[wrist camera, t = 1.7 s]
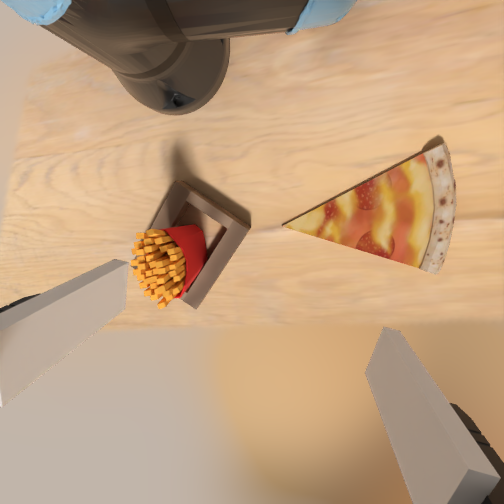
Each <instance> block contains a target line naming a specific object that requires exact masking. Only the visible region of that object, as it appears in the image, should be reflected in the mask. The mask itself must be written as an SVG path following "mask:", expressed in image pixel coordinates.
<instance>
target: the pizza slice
mask: <svg viewBox="0 0 504 504" xmlns="http://www.w3.org/2000/svg"><path fill="white" fill-rule="evenodd" d="M455 210H456V185H455V179H454V175H453V170H452V164H451V159H450V153H449V151H448V149H447V147H446V145H445V143H441V144H439V145H437V146H435V147H433V148H431V149H429V150H427V151H425V152H423V153H421V154H420V155H418V156H416V157H414V158H412V159H410V160H408V161H406V162H404V163H402V164H400V165H398V166H396V167H395V168H393V169H391V170H389V171H387V172H385V173H383V174H381V175H379V176H377V177H375V178H373V179H371V180H370V181H368V182H366V183H364V184H362V185H360V186H358V187H356V188H354V189H352V190H350V191H348V192H346V193H344V194H343V195H341V196H339V197H337V198H335V199H333V200H331V201H329V202H327V203H325V204H323V205H321V206H319V207H318V208H316V209H314V210H312V211H310V212H308V213H306V214H304V215H302V216H300V217H298V218H296V219H294V220H293V221H291V222H289V223H287V224H285V225H283V227H286V228H289V229H292V230H296V231H299V232H302V233H306V234H309V235H312V236H315V237H319V238H322V239H325V240H328V241H332V242H335V243H338V244H342V245H345V246H348V247H351V248H355V249H358V250H361V251H364V252H368V253H371V254H374V255H378V256H381V257H384V258H387V259H391V260H394V261H397V262H400V263H404V264H407V265H410V266H414V267H417V268H419V269H421V270H424V271H426V272H429V273H432V274H438V273H439V271H440V270H441V267H442V265H443V262H444V260H445V257H446V254H447V251H448V247H449V244H450V239H451V235H452V230H453V224H454V217H455Z"/></svg>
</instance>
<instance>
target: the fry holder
mask: <svg viewBox="0 0 504 504" xmlns="http://www.w3.org/2000/svg"><path fill="white" fill-rule="evenodd" d="M189 204H192V205H193V206H195V207H196V208H198V209H199V210H201V211H202V212H204V213H205V214H207V215H208V216H210V217H211V218H212V219H214V220H215V221H217V222H218V223H220V224H221V225H223V226H224V227H226V228H227V231H226V233H225V234H224V236H223V237H222V239H221V241H220V242H219V244H218V245H217V247H216V248H215V250H214V252H213V253H212V255H211V256H210V258H209V260H208V261H207V263H206V264H205V266H204V267H203V269H202V271H201V272H200V274H199V275H198V277H197V279H196V280H195V282H194V283H193V285H192V286H191V285H190V286H189V287H188V289H187V290H186V291H185V293H184V294H183V295H182V297H181V298H180V299H181V300H183V301H184V302H186V303H187V304H189V305H190V306H192V307H193V308H195V309H197V308H198V306H199V305H200V304H201V302H202V301H203V299H204V298H205V296H206V295H207V293H208V292H209V290H210V289H211V287H212V286H213V284H214V283H215V281H216V280H217V278H218V277H219V275H220V274H221V272H222V271H223V269H224V268H225V266H226V265H227V263H228V261H229V260H230V258H231V257H232V255H233V254H234V252H235V251H236V249H237V248H238V246H239V245H240V243H241V242H242V240H243V239H244V237H245V236H246V234H247V233H248V231H249V230H250V228H251V227H250V226H249V225H247V224H246V223H244V222H243V221H241V220H240V219H238V218H237V217H236V216H234V215H233V214H231V213H230V212H228V211H227V210H225V209H224V208H222V207H221V206H219V205H218V204H216V203H215V202H213V201H212V200H210V199H209V198H207V197H206V196H204V195H203V194H201V193H200V192H198V191H197V190H195V189H194V188H193V187H191V186H190V185H188V184H187V183H185V182H184V181H175V183H174V185H173V187H172V189H171V191H170V193H169V194H168V196H167V198H166V200H165V202H164V204H163V206H162V208H161V210H160V211H159V213H158V215H157V217H156V219H155V221H154V223H153V225H152V227H151V228H150V229H157V230H159V229H166V228H172V227H177V225H178V224H179V222H180V220H181V218H182V216H183V215H184V213H185V211H186V209H187V208H188V206H189ZM143 247H144V246H143ZM145 255H147V254H145ZM139 256H143V255H138V256H136V257H135V259H137V257H139ZM131 267H133V268H134V269H137V268H138V266H131Z"/></svg>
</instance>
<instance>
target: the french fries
mask: <svg viewBox="0 0 504 504" xmlns="http://www.w3.org/2000/svg"><path fill="white" fill-rule="evenodd" d="M136 239H143V241H138V242H134V246H135V248H134V249H131V250H132V254H133V255H134V254H136V256H138V255H143V256H139V257H137V259H134V260H131V266H138V268H137V269H134V270H133V274H134V275H137V279H138V281H140V280H143V282H141V283H139V285H140V289H141V288H147V287H149V286H150V287H149V288H148V289H146V290H145V291H144V296H150V298H151V300H157V299H159V298H160V297H161V296H163V297H164V298H163V299H162V300H161V301H160V302H159V303H158V304H157V305H158V308H159V309H161V308H164V307H166V306H167V304H168V303H169V302H170V301H171V300H172V299H174V298H181V297H182V295H183V294H184V293H185V291H186V290H187V289H188V287H189V286H190V284H191V283H192V282H193V280H194V279H195V278H196V276H197V275H198V274H199V272H200V271H201V269H202V268H203V267H204V265H205V263H206V261H207V260H208V256H207V249H206V244H205V239H204V235H203V231H202V230H201V229H200V228H199V227H198V226H196V225H195V224H193V225H185V226H178V227H172V228H166V229H159V230H157V229H150V230H147V231H146V233H136ZM143 246H144V247H143ZM145 254H147V255H145Z"/></svg>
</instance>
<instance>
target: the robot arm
mask: <svg viewBox="0 0 504 504" xmlns="http://www.w3.org/2000/svg"><path fill="white" fill-rule="evenodd" d="M1 1H3V2H4V3H5V4H6V5H8V6H9V7H10V8H12V9H13V10H15V11H16V13H17V14H18V15H20V16H21V17H22V18H24V19H25V20H27V21H29V22H31V23H33V24H34V23H35V24H37V25H40V26H41V27H43V28H45V29H46V30H48V31H50V32H51V33H53V34H55V35H56V36H58V37H60V38H61V39H63V40H65V41H66V42H68V43H69V44H71V45H73V46H74V47H76V48H78V49H79V50H81V51H83V52H84V53H86V54H88V55H89V56H91V57H93V58H94V59H96V60H98V61H99V62H101V63H103V64H104V65H106V66H108V67H109V68H111V69H112V71H113V72H114V73H115V75H116V76H117V78H118V79H119V81H120V82H121V84H122V85H123V86H124V88H125V89H126V90H127V91H128V92H129V93H130V94H131V95H132V96H133V97H134V98H135V99H136V100H137V101H139V102H140V103H142V104H143V105H145V106H147V107H149V108H151V109H153V110H155V111H157V112H160V113H163V114H167V115H183V114H187V113H191V112H193V111H195V110H197V109H199V108H201V107H202V106H204V105H205V104H206V103H207V102H208V101H209V100H210V99H211V98H212V97H213V96H214V95H215V94H216V92H217V91H218V89H219V87H220V86H221V84H222V82H223V80H224V77H225V74H226V71H227V67H228V62H229V53H230V45H229V38H233V37H243V36H253V35H263V34H272V33H282V32H285V33H286V35H292V34H295V33H296V32H297V31H299V30H303V29H309V28H316V27H322V26H328V25H332V24H334V23H336V22H338V21H339V20H341V19H342V18H343V17H344V16H345V15H346V14H347V13H348V12H349V11H350V9H351V8H352V7H353V5H354V4H355V3H356V1H357V0H1ZM128 263H129V262H125V261H121V260H117V259H114V260H112V261H110V262H107V263H105V264H103V265H101V266H99V267H97V268H95V269H93V270H91V271H88V272H86V273H84V274H82V275H80V276H78V277H76V278H74V279H72V280H69V281H67V282H65V283H63V284H61V285H59V286H57V287H55V288H53V289H50V290H48V291H46V292H44V293H42V294H36V295H32V296H28V297H24V298H22V299H20V300H17V301H15V302H13V303H11V304H10V305H9V306H8V305H6V306H4V307H2V308H0V407H3V406H4V405H6V404H7V403H8V402H9V401H11V400H12V399H13V398H14V397H16V396H17V395H18V394H20V393H21V392H22V391H23V390H25V389H26V388H27V387H28V386H30V385H31V384H32V383H33V382H34V381H36V380H37V379H38V378H40V377H41V376H42V375H43V374H45V373H46V372H47V371H48V370H49V369H51V368H52V367H53V366H54V365H56V364H57V363H58V362H59V361H61V360H62V359H63V358H64V357H66V356H67V355H68V354H69V353H71V352H72V351H73V350H74V349H76V348H77V347H78V346H79V345H81V344H82V343H83V342H84V341H86V340H87V339H88V338H89V337H90V336H92V335H93V334H94V333H96V332H97V331H98V330H99V329H101V328H102V327H103V326H104V325H106V324H107V323H108V322H109V321H111V320H112V319H113V318H114V317H116V316H117V315H118V314H119V313H121V312H122V311H123V310H124V309H125V305H126V291H127V277H128ZM365 374H366V377H367V380H368V382H369V385H370V387H371V390H372V393H373V396H374V399H375V401H376V404H377V407H378V410H379V412H380V415H381V418H382V420H383V423H384V426H385V429H386V431H387V434H388V436H389V440H390V442H391V445H392V448H393V451H394V453H395V456H396V459H397V461H398V464H399V467H400V470H401V472H402V475H403V478H404V481H405V483H406V486H407V489H408V491H409V494H410V497H411V500H412V502H413V504H504V463H503V462H502V460H501V459H500V457H499V456H498V455H497V453H496V452H495V450H494V449H493V448H491V447H490V444H489V442H488V441H487V440H486V438H485V437H484V436H483V435H481V431H480V430H479V429H478V427H477V426H476V425H475V423H474V422H473V420H472V419H471V418H470V417H469V416H468V415H467V414H466V413H465V412H464V411H463V410H461V409H460V408H459V407H458V406H457V405H456V404H452V403H449V402H448V401H447V399H446V397H445V396H444V395H443V393H442V392H441V390H440V389H439V387H438V386H437V384H436V383H435V382H434V380H433V379H432V377H431V376H430V374H429V373H428V371H427V370H426V368H425V367H424V366H423V364H422V363H421V361H420V360H419V358H418V357H417V355H416V354H415V352H414V351H413V350H412V348H411V347H410V345H409V344H408V342H407V341H406V339H405V338H404V336H403V335H402V333H401V332H400V331H398V330H395V329H391V328H387V327H383V329H382V332H381V334H380V337H379V339H378V342H377V344H376V347H375V349H374V352H373V354H372V357H371V359H370V362H369V364H368V367H367V369H366V372H365Z"/></svg>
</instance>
